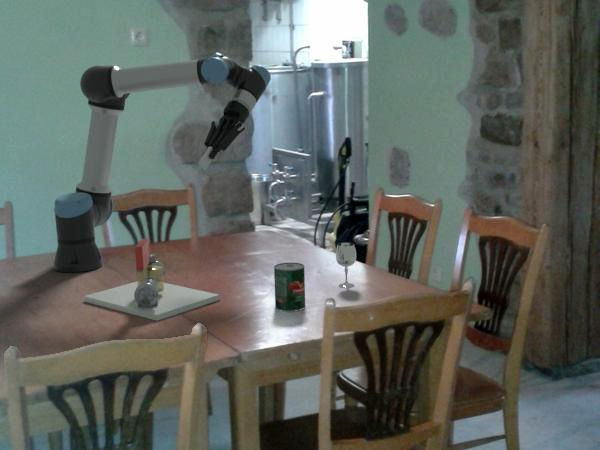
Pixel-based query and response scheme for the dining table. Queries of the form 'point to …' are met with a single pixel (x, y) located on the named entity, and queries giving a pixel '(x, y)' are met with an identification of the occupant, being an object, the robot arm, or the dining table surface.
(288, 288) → the canned tomato
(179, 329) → the dining table surface
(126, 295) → the plate
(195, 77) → the robot arm
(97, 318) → the dining table surface
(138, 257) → the valve lever
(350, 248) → the wineglass
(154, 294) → the valve body
